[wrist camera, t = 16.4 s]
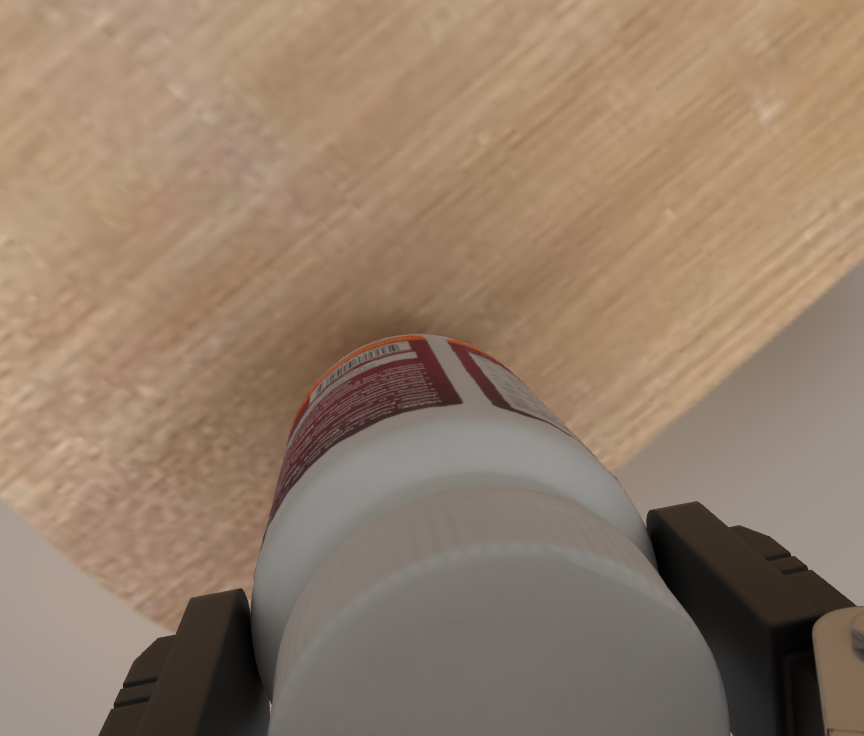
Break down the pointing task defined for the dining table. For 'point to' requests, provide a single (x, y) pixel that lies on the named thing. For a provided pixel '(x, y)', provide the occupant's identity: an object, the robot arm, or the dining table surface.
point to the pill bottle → (463, 567)
